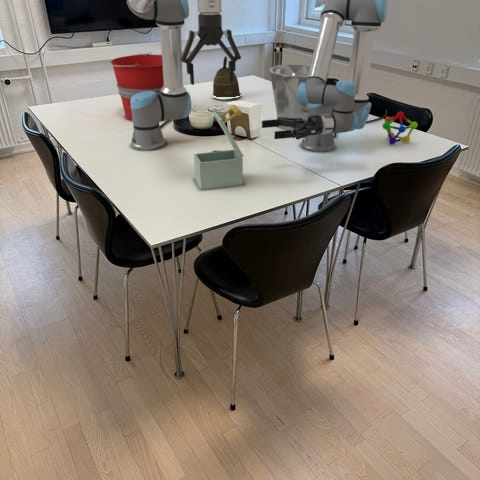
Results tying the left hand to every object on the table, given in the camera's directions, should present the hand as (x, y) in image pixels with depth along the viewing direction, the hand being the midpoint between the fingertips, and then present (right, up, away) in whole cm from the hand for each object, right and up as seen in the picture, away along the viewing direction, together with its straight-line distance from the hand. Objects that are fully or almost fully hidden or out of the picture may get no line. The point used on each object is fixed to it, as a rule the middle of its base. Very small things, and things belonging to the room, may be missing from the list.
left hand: (211, 82), depth 152 cm
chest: (+1, -31, +20) cm, 37 cm away
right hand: (+20, -12, +15) cm, 28 cm away
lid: (+5, -15, +12) cm, 20 cm away
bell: (+1, +37, +130) cm, 135 cm away
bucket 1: (-42, +16, +96) cm, 105 cm away
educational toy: (+84, -8, +59) cm, 103 cm away
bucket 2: (+39, +6, +81) cm, 91 cm away
